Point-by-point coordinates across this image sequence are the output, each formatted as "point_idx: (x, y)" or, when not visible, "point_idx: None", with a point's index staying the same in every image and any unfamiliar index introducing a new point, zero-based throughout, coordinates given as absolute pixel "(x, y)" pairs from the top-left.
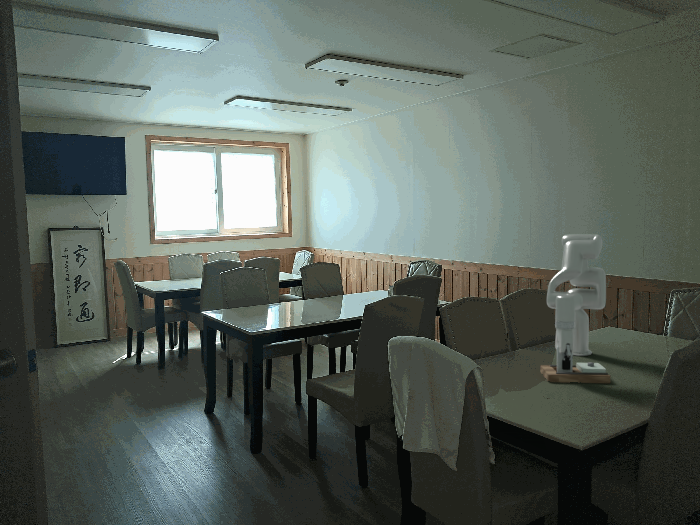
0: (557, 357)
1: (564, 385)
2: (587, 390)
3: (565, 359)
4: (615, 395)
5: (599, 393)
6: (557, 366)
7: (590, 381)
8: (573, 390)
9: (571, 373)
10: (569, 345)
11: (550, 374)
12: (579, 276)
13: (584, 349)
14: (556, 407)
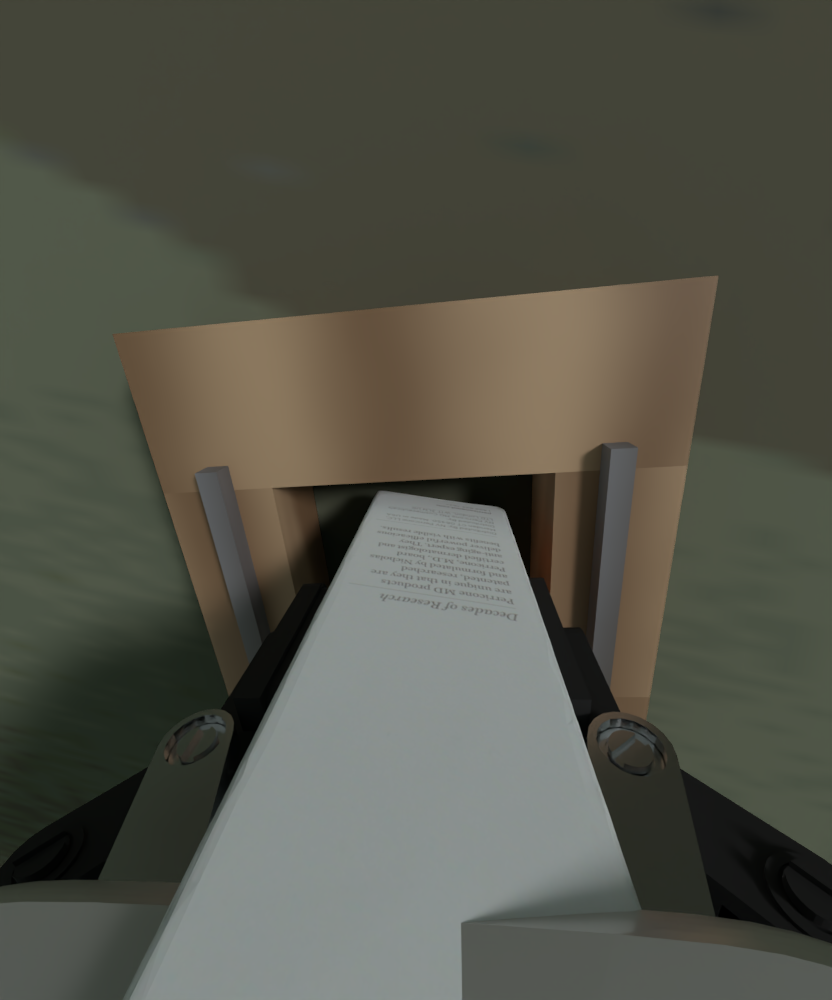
0: (296, 657)
1: (129, 499)
2: (66, 652)
3: (144, 770)
4: (41, 779)
5: (33, 708)
6: (352, 541)
7: None
8: (7, 547)
9: (252, 648)
10: None
11: (145, 373)
12: None
13: None
14: None
